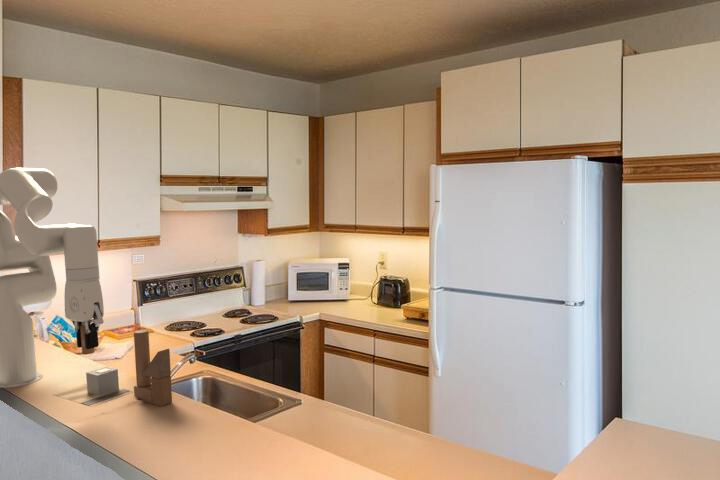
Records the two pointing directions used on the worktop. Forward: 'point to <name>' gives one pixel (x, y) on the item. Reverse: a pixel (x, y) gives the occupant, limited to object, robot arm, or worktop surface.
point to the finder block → (102, 381)
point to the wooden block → (151, 372)
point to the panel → (90, 395)
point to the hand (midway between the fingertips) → (87, 346)
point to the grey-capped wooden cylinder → (84, 350)
